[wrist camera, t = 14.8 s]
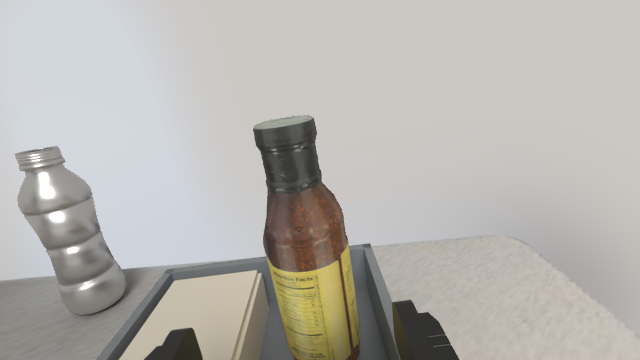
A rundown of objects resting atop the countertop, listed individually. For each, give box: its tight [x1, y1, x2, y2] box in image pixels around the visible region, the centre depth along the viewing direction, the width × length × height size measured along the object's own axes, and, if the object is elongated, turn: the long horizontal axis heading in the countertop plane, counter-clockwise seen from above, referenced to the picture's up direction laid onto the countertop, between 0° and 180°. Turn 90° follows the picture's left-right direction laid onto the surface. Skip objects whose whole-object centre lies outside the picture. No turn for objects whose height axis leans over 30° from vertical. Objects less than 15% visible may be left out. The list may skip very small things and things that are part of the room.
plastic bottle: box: [15, 146, 126, 315], centre depth 35 cm, size 6×7×20 cm
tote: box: [97, 244, 400, 360], centre depth 25 cm, size 22×16×6 cm
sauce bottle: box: [253, 115, 361, 360], centre depth 23 cm, size 6×6×20 cm
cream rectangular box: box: [119, 270, 269, 360], centre depth 25 cm, size 9×12×5 cm
